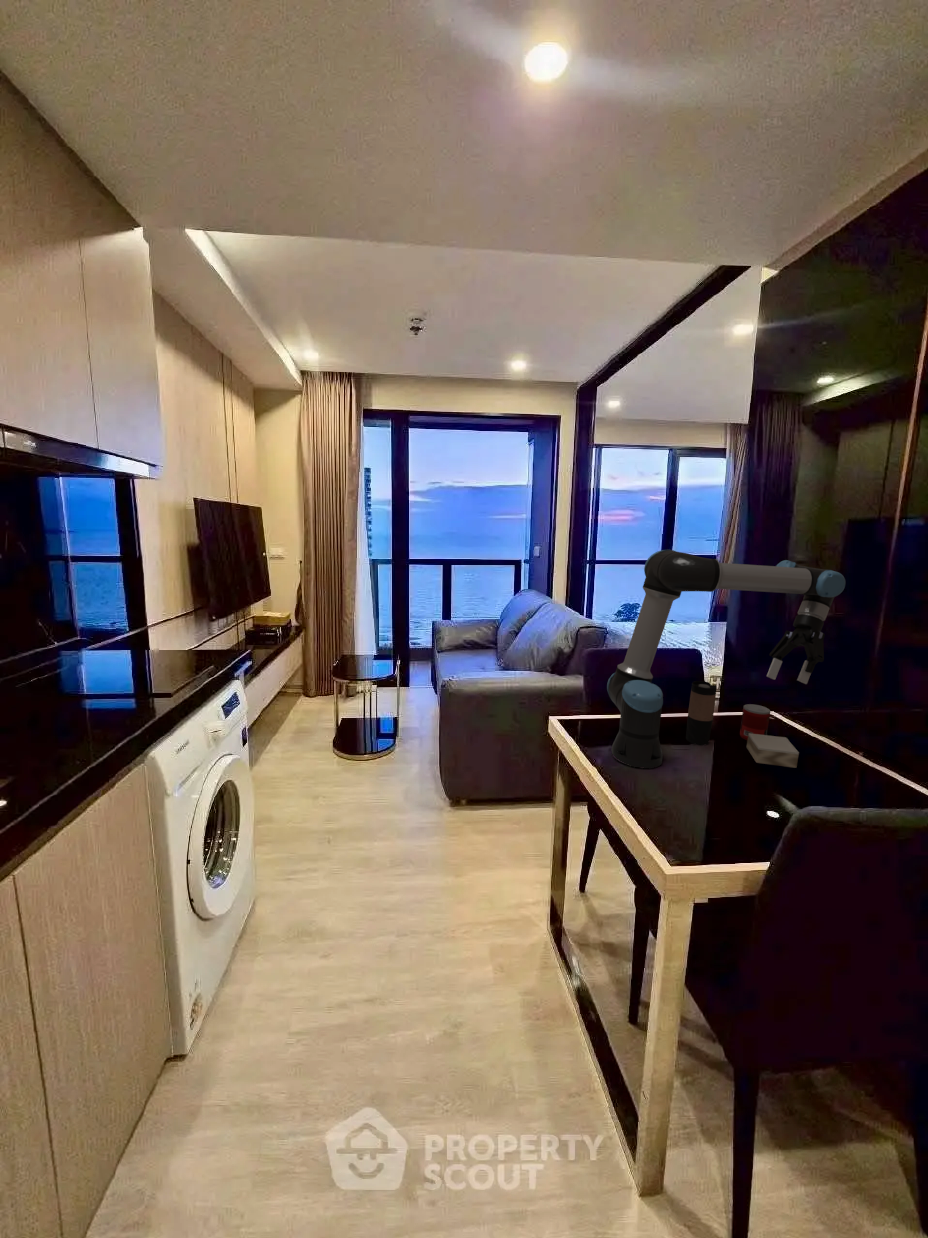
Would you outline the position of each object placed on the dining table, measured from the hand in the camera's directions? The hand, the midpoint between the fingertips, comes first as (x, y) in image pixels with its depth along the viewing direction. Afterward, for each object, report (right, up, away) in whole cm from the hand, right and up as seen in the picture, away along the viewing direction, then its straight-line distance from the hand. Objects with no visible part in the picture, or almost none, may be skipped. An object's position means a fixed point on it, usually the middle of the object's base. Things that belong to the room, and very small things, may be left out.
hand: (785, 680), depth 156 cm
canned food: (-1, -22, +17) cm, 28 cm away
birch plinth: (-3, -25, +3) cm, 25 cm away
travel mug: (-21, -22, +14) cm, 34 cm away
